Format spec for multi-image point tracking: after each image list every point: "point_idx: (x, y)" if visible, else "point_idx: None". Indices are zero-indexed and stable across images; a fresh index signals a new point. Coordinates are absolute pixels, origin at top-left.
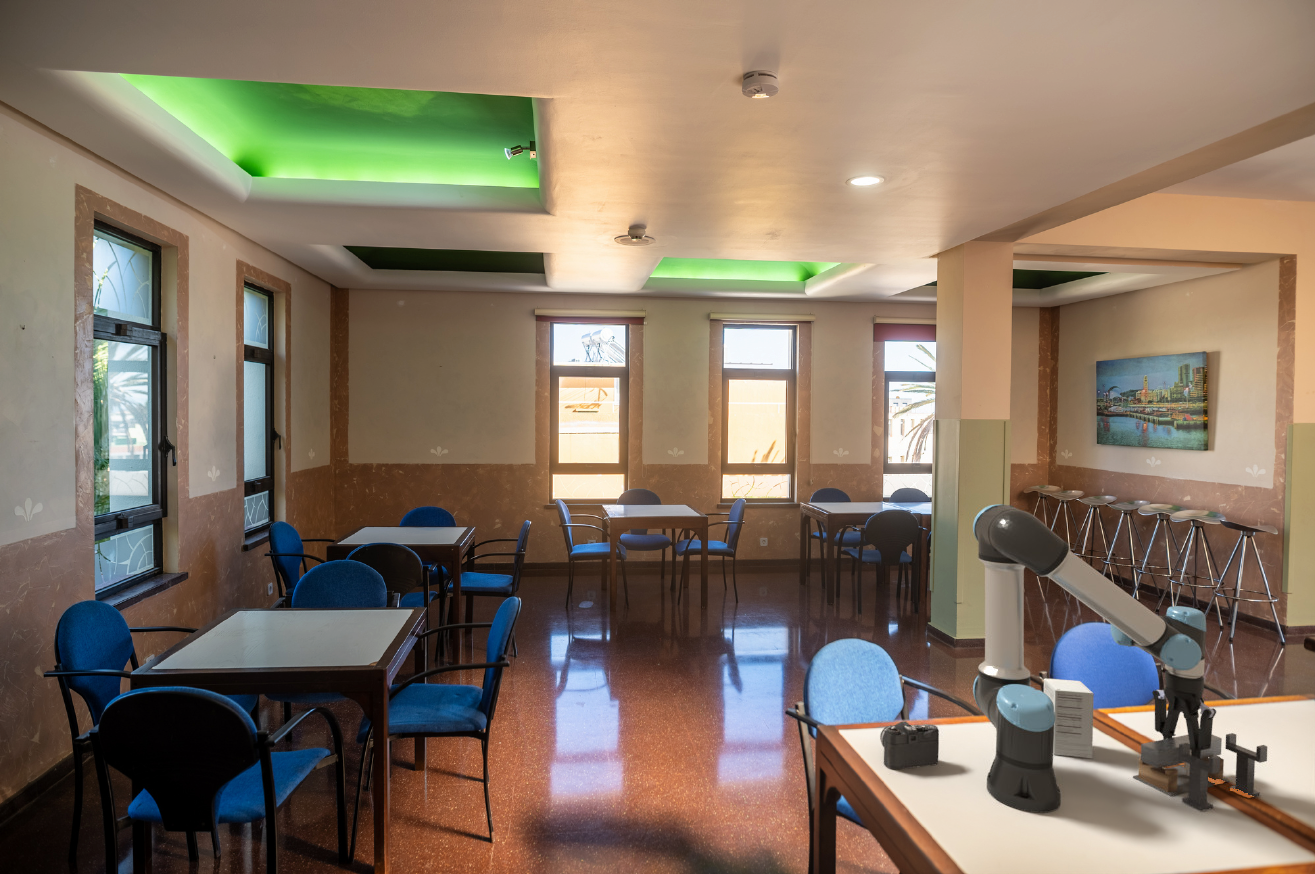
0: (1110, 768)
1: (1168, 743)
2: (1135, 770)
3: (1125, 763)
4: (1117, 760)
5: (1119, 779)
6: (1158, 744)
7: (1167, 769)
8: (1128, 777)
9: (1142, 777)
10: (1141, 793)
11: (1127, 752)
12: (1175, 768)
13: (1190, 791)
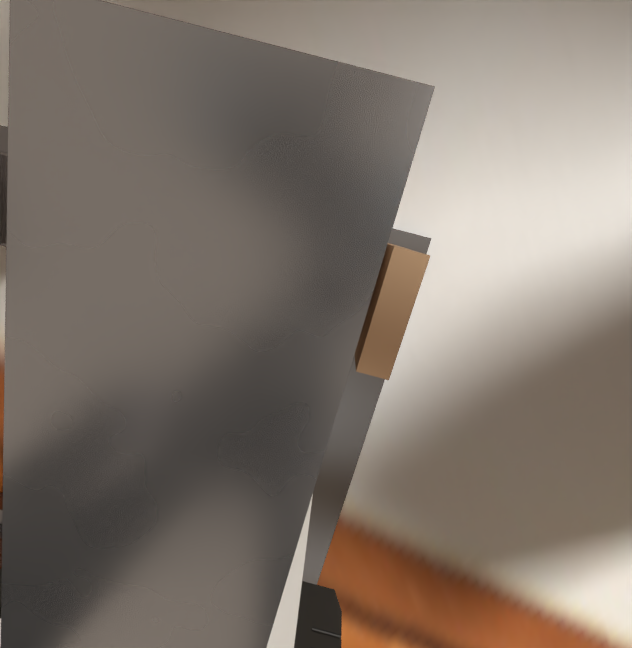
0: (579, 248)
1: (151, 571)
2: (452, 360)
3: (527, 407)
4: (577, 410)
5: (480, 119)
6: (211, 402)
7: (332, 502)
8: (448, 214)
9: None
10: (300, 26)
11: (562, 557)
12: (313, 544)
13: (7, 155)
